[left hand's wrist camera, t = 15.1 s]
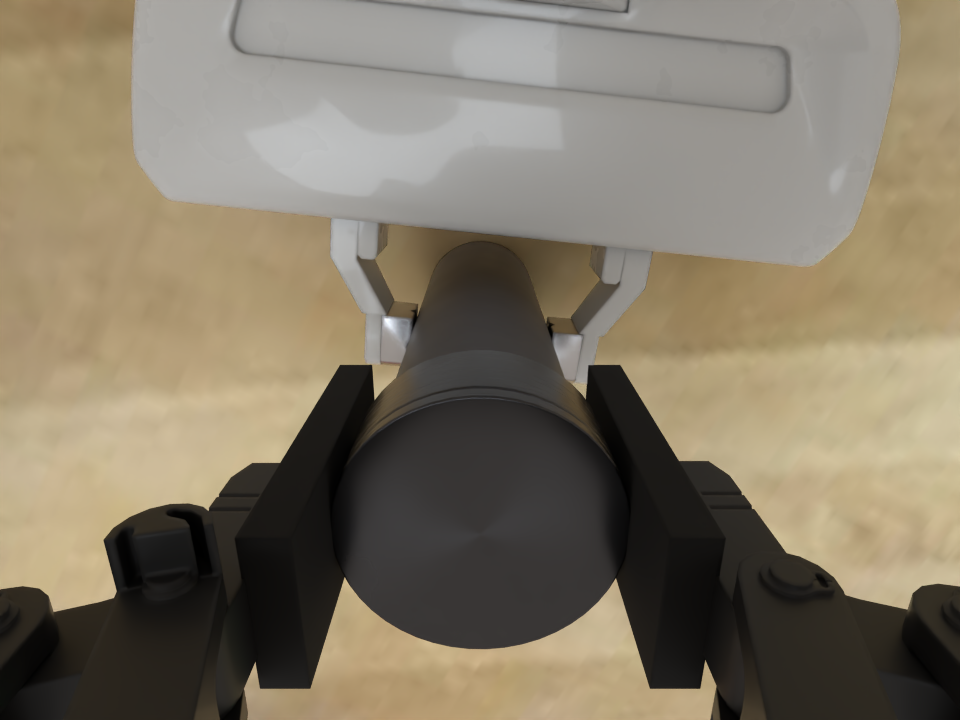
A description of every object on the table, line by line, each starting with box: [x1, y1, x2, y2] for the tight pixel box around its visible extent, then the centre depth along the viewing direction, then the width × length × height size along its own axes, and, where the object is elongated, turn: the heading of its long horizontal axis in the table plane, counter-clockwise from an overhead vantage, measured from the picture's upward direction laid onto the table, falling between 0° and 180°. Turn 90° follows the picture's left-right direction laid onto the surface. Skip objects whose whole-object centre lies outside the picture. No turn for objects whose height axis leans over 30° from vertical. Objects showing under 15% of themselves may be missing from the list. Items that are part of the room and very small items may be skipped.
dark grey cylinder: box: [396, 242, 565, 378], centre depth 18 cm, size 4×4×16 cm
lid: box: [330, 350, 631, 649], centre depth 11 cm, size 5×5×2 cm
